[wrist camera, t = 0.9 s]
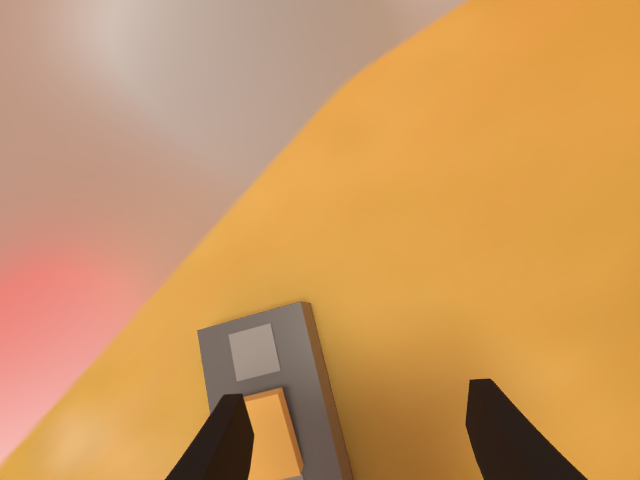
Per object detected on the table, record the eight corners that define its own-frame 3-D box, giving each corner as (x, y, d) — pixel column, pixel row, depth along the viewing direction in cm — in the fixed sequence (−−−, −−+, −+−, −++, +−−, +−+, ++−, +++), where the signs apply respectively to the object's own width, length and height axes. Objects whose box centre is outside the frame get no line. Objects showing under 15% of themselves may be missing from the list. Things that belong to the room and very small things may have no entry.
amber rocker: (303, 465, 22) (300, 475, 21) (251, 475, 23) (245, 486, 22) (281, 387, 22) (277, 394, 21) (230, 399, 23) (224, 407, 22)
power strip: (385, 613, 22) (384, 659, 19) (268, 629, 23) (249, 676, 20) (310, 303, 27) (299, 301, 24) (217, 329, 29) (196, 330, 26)
